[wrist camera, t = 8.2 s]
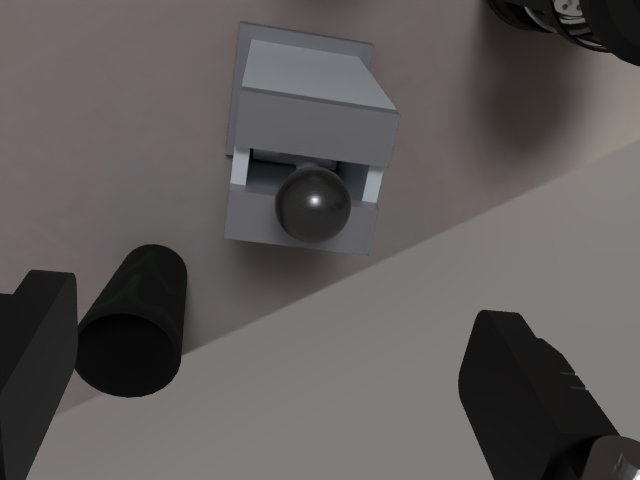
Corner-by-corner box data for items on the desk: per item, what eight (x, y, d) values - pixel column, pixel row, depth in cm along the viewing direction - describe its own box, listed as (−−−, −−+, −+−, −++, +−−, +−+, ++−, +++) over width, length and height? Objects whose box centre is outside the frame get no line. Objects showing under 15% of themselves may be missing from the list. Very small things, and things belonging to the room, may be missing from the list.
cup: (159, 324, 56) (132, 415, 45) (91, 272, 53) (45, 356, 43) (217, 272, 54) (203, 354, 44) (149, 216, 51) (117, 288, 41)
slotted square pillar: (372, 43, 47) (424, 98, 30) (347, 167, 51) (382, 273, 35) (240, 21, 45) (221, 66, 29) (226, 150, 49) (203, 252, 33)
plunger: (349, 85, 41) (393, 168, 26) (334, 166, 44) (366, 284, 29) (263, 71, 40) (257, 148, 26) (252, 155, 43) (242, 270, 28)
